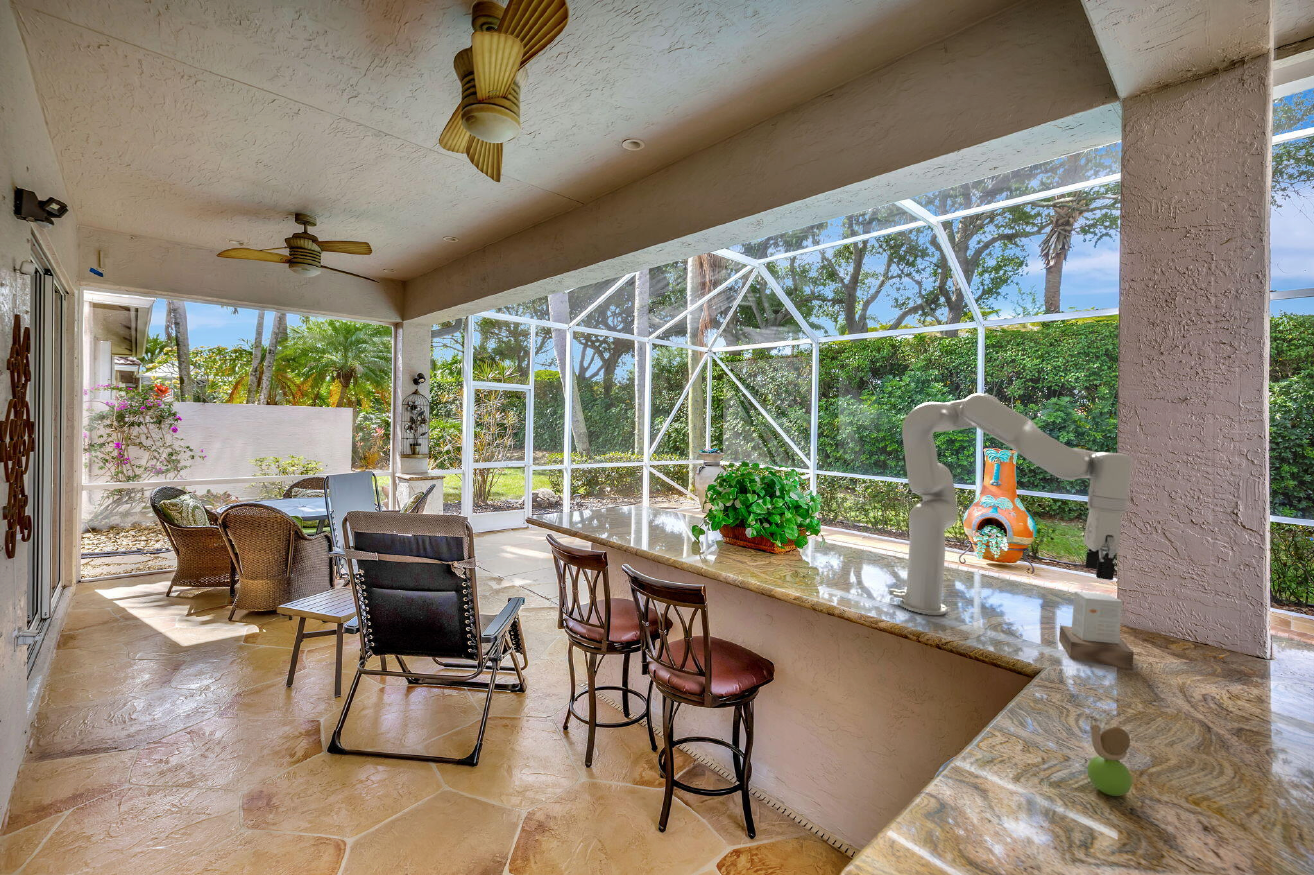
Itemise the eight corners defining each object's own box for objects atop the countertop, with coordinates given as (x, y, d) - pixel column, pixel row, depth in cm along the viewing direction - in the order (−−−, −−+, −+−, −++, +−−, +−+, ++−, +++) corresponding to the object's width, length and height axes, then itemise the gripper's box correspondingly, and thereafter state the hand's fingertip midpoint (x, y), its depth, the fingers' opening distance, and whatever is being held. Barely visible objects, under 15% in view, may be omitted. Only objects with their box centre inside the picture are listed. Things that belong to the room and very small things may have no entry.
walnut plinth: (1070, 658, 141) (1071, 641, 140) (1058, 640, 152) (1060, 625, 151) (1132, 669, 136) (1133, 652, 136) (1116, 650, 147) (1117, 634, 146)
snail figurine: (1071, 781, 93) (1078, 707, 92) (1109, 780, 93) (1116, 707, 93) (1099, 804, 87) (1107, 726, 87) (1139, 804, 88) (1147, 726, 87)
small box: (1106, 635, 145) (1110, 593, 145) (1119, 644, 140) (1123, 601, 139) (1070, 632, 147) (1074, 590, 146) (1082, 640, 141) (1086, 597, 141)
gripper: (1079, 496, 151) (1071, 562, 152) (1098, 507, 135) (1089, 580, 136) (1115, 500, 148) (1106, 567, 149) (1138, 512, 132) (1129, 586, 133)
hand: (1098, 573), depth 143 cm, fingers open, 9 cm apart
